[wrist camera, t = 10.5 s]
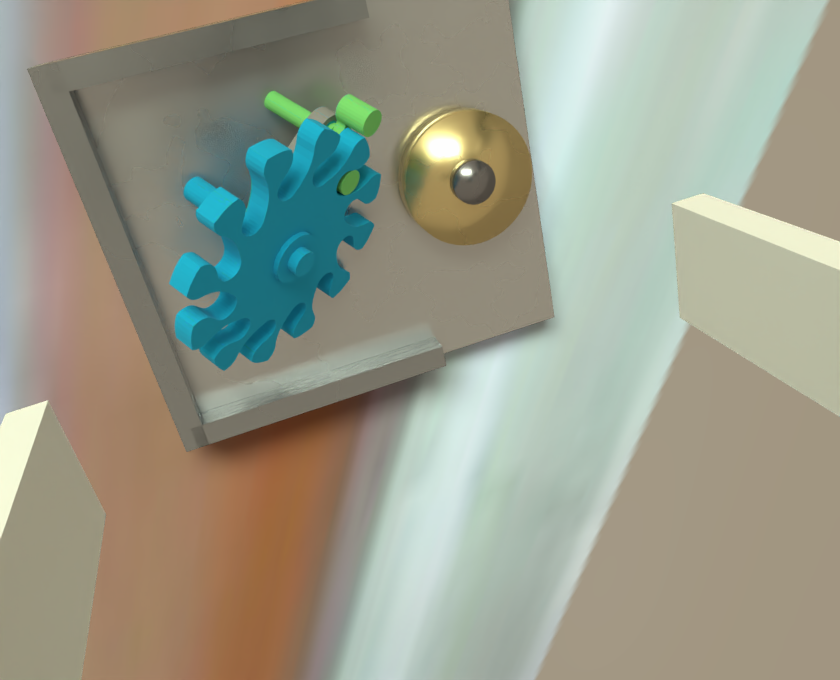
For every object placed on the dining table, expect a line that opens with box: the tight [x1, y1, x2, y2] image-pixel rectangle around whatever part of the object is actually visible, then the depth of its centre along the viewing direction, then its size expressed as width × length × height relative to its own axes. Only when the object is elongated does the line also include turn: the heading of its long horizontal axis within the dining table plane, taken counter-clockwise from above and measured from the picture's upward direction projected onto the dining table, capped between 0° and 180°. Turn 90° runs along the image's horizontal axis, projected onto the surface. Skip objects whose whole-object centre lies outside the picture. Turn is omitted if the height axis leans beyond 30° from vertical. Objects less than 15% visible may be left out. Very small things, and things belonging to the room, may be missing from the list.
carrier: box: [27, 0, 554, 452], centre depth 32 cm, size 18×16×3 cm
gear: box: [169, 91, 382, 371], centre depth 29 cm, size 11×6×10 cm
